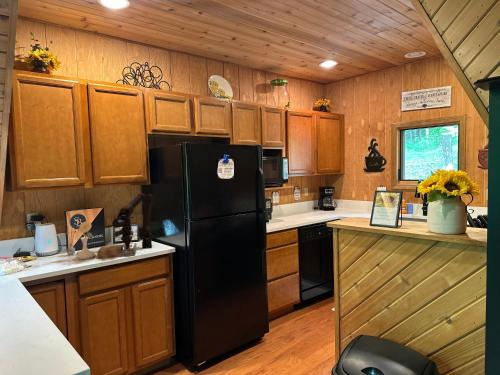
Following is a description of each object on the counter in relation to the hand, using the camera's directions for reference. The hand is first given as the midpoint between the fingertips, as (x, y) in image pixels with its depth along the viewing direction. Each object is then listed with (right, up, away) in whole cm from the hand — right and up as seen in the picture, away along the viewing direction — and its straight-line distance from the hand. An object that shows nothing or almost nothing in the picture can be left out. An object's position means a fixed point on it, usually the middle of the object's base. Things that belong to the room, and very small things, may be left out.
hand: (127, 247), depth 236 cm
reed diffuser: (-40, -5, +3) cm, 40 cm away
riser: (-5, -4, +12) cm, 14 cm away
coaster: (0, +1, 0) cm, 1 cm away
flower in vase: (-24, -6, -9) cm, 27 cm away
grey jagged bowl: (-2, -4, 0) cm, 4 cm away
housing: (-11, -5, -2) cm, 12 cm away
